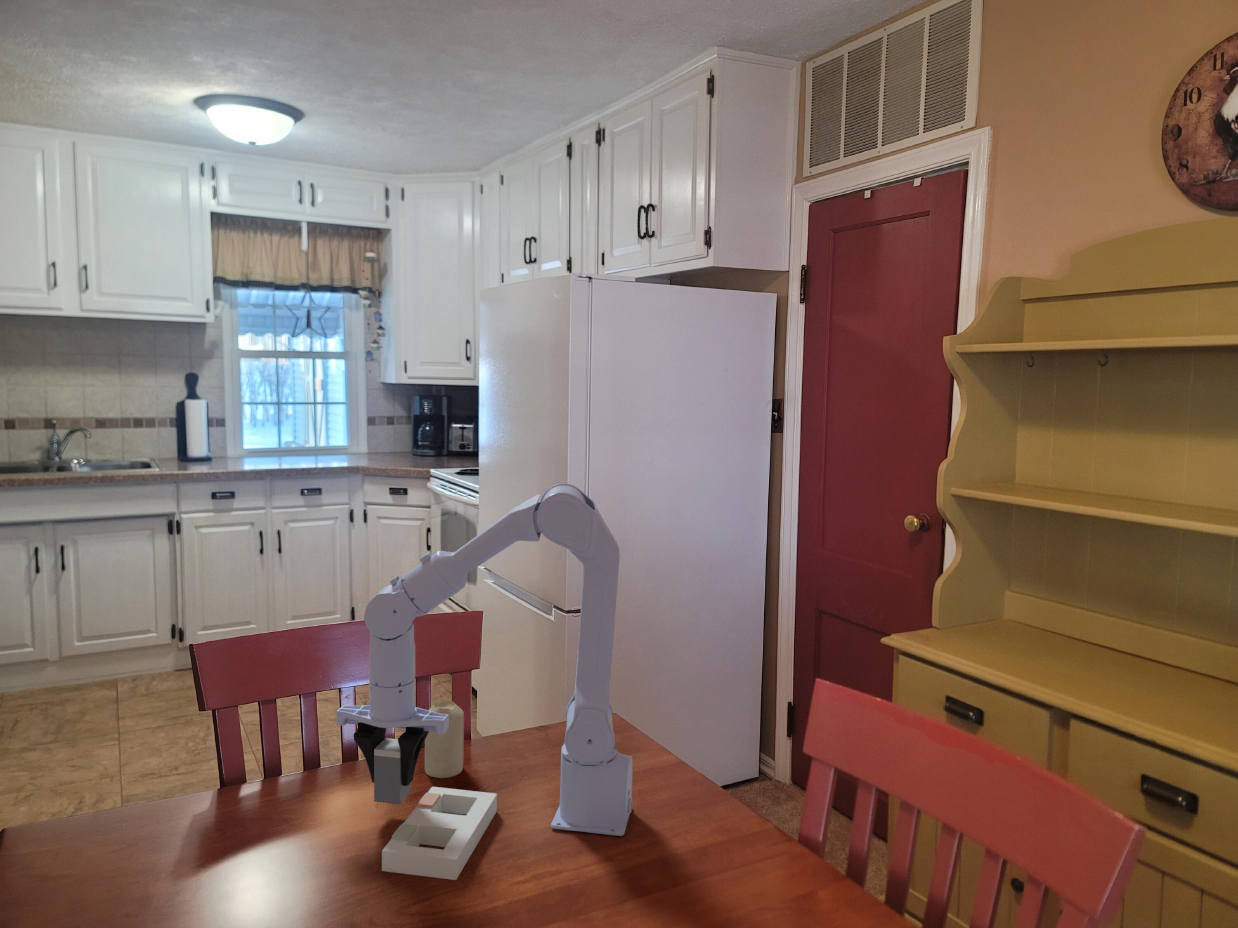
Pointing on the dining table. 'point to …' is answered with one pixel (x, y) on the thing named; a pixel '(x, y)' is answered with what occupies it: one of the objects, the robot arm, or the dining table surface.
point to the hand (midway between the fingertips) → (392, 780)
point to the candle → (445, 743)
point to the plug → (389, 773)
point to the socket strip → (440, 833)
